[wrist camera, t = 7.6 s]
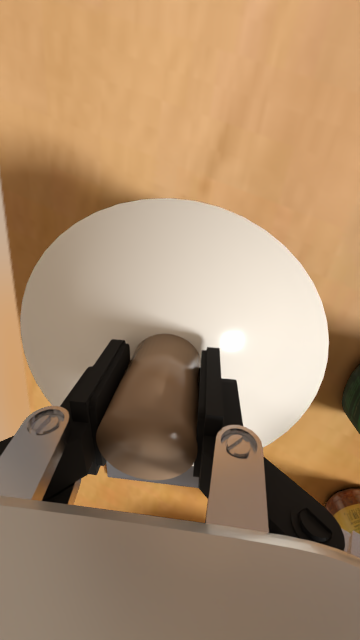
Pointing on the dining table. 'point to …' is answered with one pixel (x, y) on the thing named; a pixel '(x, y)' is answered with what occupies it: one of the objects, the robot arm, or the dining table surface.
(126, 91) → the dining table surface
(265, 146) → the dining table surface
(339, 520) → the sauce bottle
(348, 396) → the coffee jar
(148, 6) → the dining table surface
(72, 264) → the lid
